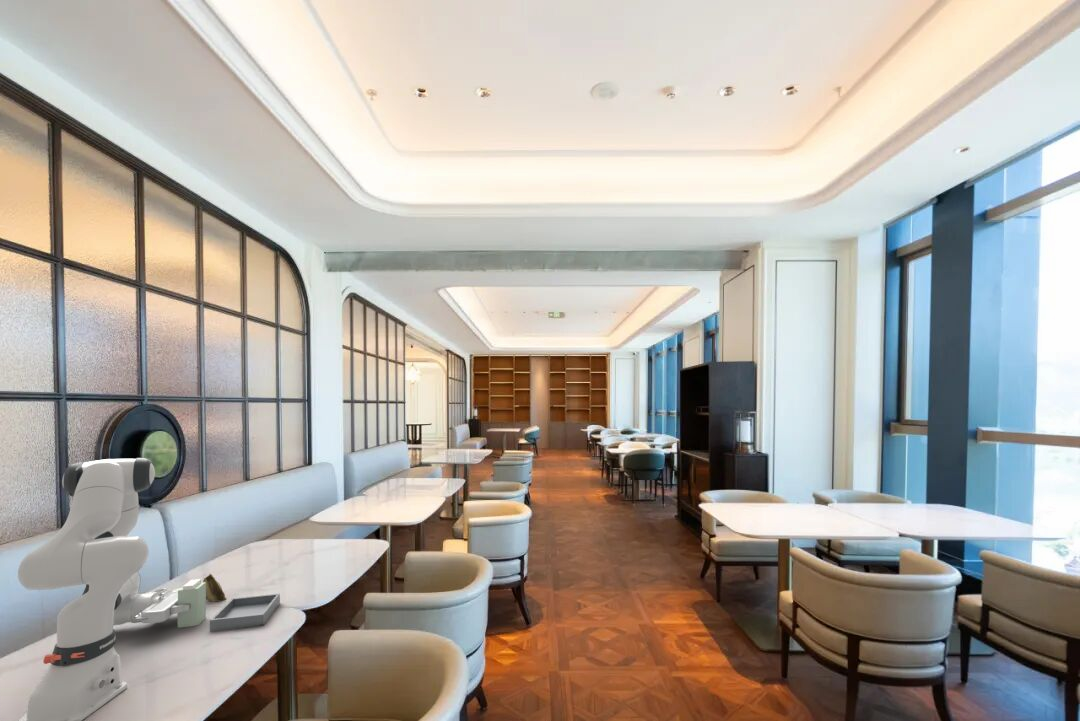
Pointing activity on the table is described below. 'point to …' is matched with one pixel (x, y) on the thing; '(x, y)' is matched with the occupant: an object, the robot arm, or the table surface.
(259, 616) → the tray
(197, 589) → the juice carton
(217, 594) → the rock
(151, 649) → the table surface
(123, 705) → the table surface
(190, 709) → the table surface
